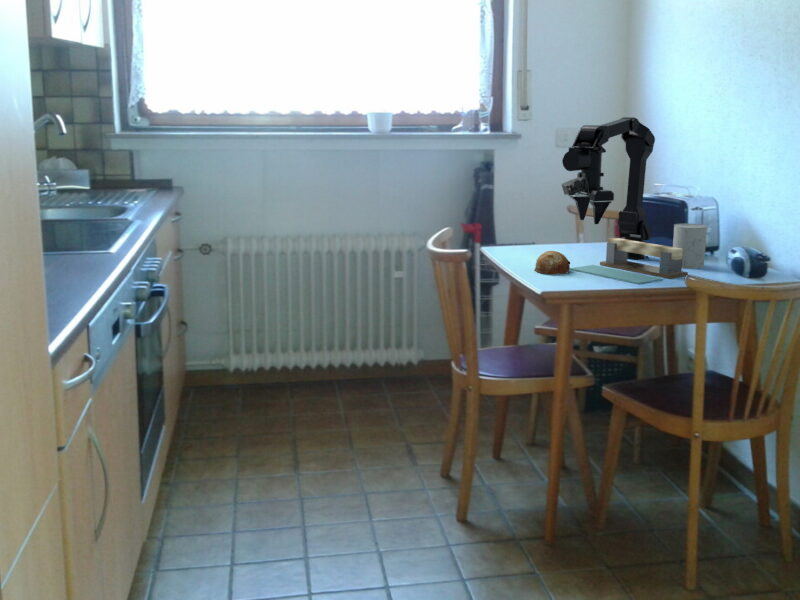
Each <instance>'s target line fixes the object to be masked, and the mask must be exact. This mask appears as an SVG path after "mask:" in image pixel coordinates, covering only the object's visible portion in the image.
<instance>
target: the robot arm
mask: <svg viewBox="0 0 800 600" xmlns="http://www.w3.org/2000/svg"><path fill="white" fill-rule="evenodd" d="M620 135H621V136H620ZM616 136H620V138H621V139H622V140H623V142H624V143H625V152H626V154H627V156H628V158H629V169H628V179H627V180H628V181H627V192H626V203H625V206H624V208H623V209H622V210H620V211H619V212H618V220H617V228H618V233H619V238H620V239H626V240H632V241H639V242H645V243H646V241H649V240H651V238H652V235H653V232H652V230H651V228H650V226H649V224H648V223H647V222H648V221H647V220H648V219H647V218H648V217H647V213H646V211H645V209H644V207H643V201H644V192H645V181H646V180H645V179H646V169H647V167H646V166H647V161H648V159H649V157H650V156H651V155H652V153H653V151H654V145H655V141H656V137H655V135H654V134H653V132H652V130H651V129H650V128H649V127H648V126H647V125H646V126H645V124H643V123H642V122H640V121H639V119H638V118H636V117H629V116H627V117H625V116H623V117H621V118H619V119H616V120H613V121H610V122H607V123H604V124H600V125H599V124H595V125H594V124H593V125H592V124H590V125H589V124H585V125H582V126H581V127H580V129H579V131H578V133H577V135H576V137H575V139H574V142H573V143H572V146H569V147H568V151H566V152H565V153H564V155H563V157H562V166H563V168H564V170H566V171H568V172H576V171H578V172H577V177H575V178H573V179H570V180H567V181H565V182H563V183H561V188H562V190H563V194H564V195H567V196H569V198H570V199H572V200H573V201H574V202H575V206H576V209H577V213H578V217H579V220H580V221H584V220H585V218H586V216H587V212H588V209H589V205H591V207H592V213H593V223H594V225H599V223H600V222H601V220H602V218H603V216H604V214H605V212H606V210H607V209H608V207H609V206H610V204H612V202H613V201H614V200H615V193H614V191H612V190H609V189H604V187H603V186H602V183H601V182H602V180H601V179H602V177H604V176H605V175H604V174H605V172H602V159H603V158H602V157H603V153H604V154H605V153H606V152H607V150H606V149H605V148H604V147H603V146H604V145H605V144H606V143H608V142H609V140H610V139H611V138H614V137H616ZM645 258H646V259H647V258H649V255H643V254H637V253H632V252H628V254H627V259H630V260H639V259H645Z"/></svg>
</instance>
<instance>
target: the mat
mask: <svg viewBox="0 0 800 600" xmlns="http://www.w3.org/2000/svg"><path fill="white" fill-rule="evenodd" d="M569 271H575V272H580V273H583V274H584V273H585V274H589V275H593V276H598V277H602V278H603V277H604V278H607V279H612V280H617V281H623V282H626V283H632V284H636V285H641V284H642V285H643V284H647V283H653V282H658V281H663V280H664V278H663V277H657V276H652V275H647V274H642V273H637V272H632V271H627V270H622V269H617V268H612V267H607V266H602V265H595V264H590V265H589V264H588V265H582V266H581V265H580V266H576V267H570V269H569Z"/></svg>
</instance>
